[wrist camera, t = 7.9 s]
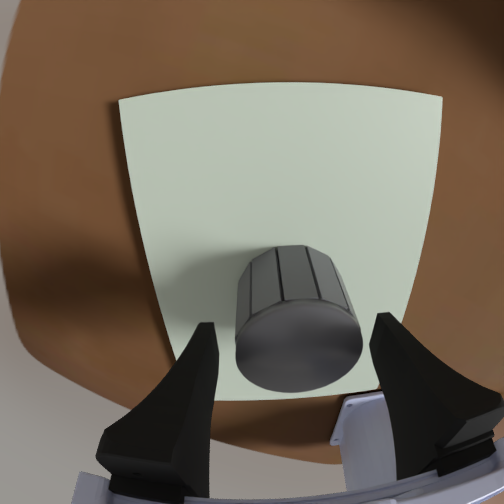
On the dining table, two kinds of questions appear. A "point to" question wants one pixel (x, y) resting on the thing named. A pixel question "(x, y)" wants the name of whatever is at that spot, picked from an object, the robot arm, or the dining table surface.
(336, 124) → the post board
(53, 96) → the dining table surface
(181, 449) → the robot arm
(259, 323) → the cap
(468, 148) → the dining table surface
